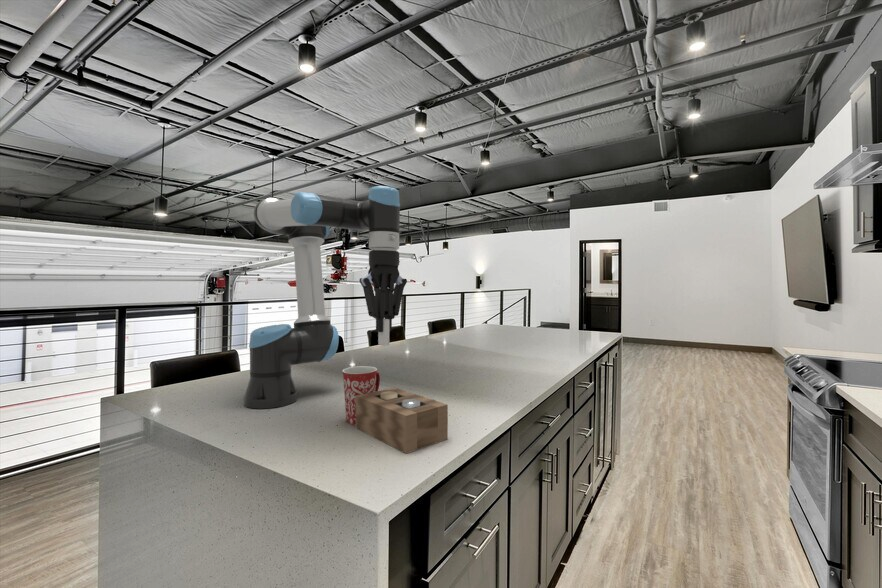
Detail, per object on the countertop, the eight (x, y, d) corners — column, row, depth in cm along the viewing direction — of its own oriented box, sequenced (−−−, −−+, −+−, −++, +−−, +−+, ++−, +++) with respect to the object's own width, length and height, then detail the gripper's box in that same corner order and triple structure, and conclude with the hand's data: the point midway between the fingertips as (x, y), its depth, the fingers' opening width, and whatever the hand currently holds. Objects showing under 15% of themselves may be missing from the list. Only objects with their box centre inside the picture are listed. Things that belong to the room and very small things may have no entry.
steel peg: (398, 433, 91) (398, 401, 91) (412, 428, 94) (412, 397, 94) (409, 438, 88) (409, 405, 88) (423, 433, 91) (423, 401, 90)
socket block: (355, 427, 98) (355, 395, 98) (395, 416, 106) (394, 387, 106) (405, 453, 82) (405, 415, 82) (447, 438, 90) (447, 404, 90)
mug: (362, 428, 97) (362, 374, 97) (335, 422, 102) (334, 370, 101) (392, 414, 108) (391, 365, 108) (366, 409, 113) (366, 362, 113)
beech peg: (377, 423, 98) (377, 393, 97) (391, 419, 100) (391, 390, 100) (386, 427, 94) (386, 396, 94) (400, 423, 97) (400, 393, 97)
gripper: (369, 247, 90) (369, 349, 91) (414, 251, 99) (413, 344, 99) (353, 249, 96) (353, 345, 96) (396, 252, 104) (396, 340, 105)
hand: (383, 344), depth 98 cm, fingers closed
